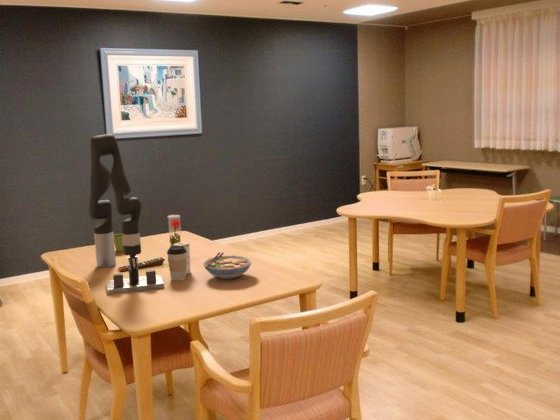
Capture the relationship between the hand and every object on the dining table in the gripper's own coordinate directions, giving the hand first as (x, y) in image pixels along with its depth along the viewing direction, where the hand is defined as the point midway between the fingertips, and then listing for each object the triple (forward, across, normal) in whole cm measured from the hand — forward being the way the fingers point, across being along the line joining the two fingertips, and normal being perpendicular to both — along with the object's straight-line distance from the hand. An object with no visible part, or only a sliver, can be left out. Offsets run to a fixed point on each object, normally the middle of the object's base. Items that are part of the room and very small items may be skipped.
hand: (134, 281), depth 262 cm
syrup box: (+3, -13, +23) cm, 27 cm away
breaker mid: (+1, -4, 0) cm, 4 cm away
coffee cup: (+3, -6, +20) cm, 21 cm away
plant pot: (+3, -70, -2) cm, 70 cm away
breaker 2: (+1, +2, +7) cm, 7 cm away
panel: (+3, -1, 0) cm, 3 cm away
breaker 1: (+1, +2, -7) cm, 7 cm away
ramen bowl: (+3, +1, +42) cm, 42 cm away
